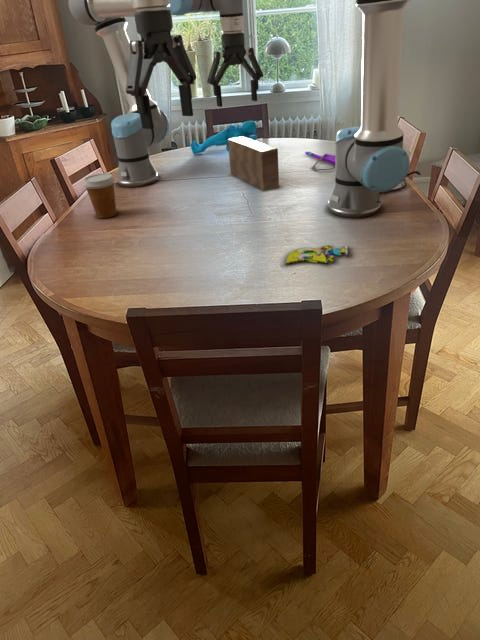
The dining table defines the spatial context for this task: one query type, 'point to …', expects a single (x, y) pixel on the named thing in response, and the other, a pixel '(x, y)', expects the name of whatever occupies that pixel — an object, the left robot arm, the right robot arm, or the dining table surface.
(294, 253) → the toy
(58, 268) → the dining table surface
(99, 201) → the disposable coffee cup
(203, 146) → the toy
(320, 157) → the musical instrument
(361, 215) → the right robot arm
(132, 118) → the left robot arm
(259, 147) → the box
